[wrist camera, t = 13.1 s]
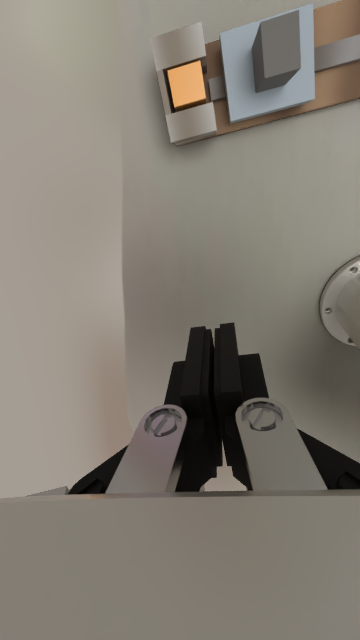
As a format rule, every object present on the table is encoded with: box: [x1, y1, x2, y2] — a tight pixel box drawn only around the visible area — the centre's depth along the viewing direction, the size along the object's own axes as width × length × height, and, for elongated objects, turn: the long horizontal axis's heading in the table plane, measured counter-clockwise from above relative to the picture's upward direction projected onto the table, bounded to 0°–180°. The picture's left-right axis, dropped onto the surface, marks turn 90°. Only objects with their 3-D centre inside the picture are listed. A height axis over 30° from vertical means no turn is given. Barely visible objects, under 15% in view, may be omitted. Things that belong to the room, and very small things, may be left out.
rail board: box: [150, 0, 360, 146], centre depth 25 cm, size 23×7×6 cm, turn 103°
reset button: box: [168, 61, 206, 112], centre depth 25 cm, size 3×2×4 cm
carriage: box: [219, 3, 315, 124], centre depth 23 cm, size 7×6×7 cm
